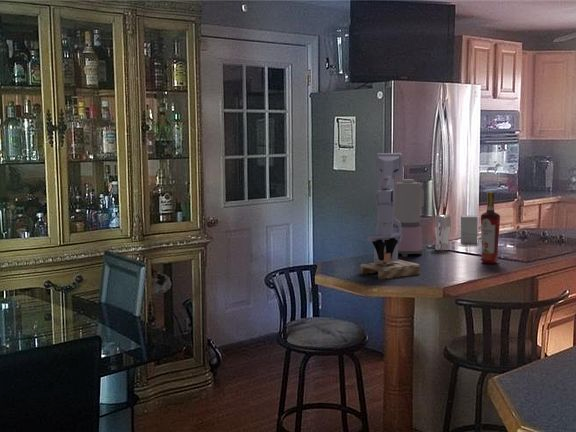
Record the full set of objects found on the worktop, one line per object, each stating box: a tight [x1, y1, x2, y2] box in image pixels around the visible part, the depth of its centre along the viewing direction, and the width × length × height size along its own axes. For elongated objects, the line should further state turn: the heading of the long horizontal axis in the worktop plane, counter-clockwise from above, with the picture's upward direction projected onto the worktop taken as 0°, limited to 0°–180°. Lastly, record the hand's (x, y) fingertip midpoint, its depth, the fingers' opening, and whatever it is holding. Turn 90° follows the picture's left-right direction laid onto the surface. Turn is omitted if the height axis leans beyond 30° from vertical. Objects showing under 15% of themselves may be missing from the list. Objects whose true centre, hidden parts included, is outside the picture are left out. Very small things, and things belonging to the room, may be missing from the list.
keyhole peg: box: [379, 252, 391, 267], centre depth 259 cm, size 4×4×8 cm
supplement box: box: [460, 214, 479, 244], centre depth 332 cm, size 7×7×13 cm
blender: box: [394, 178, 426, 258], centre depth 301 cm, size 16×12×32 cm
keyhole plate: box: [360, 259, 421, 280], centre depth 260 cm, size 18×12×4 cm, turn 119°
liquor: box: [480, 191, 501, 265], centre depth 277 cm, size 7×7×28 cm
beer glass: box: [434, 214, 452, 251], centre depth 313 cm, size 7×7×15 cm
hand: (384, 259), depth 258 cm, fingers closed on keyhole peg, 3 cm apart
